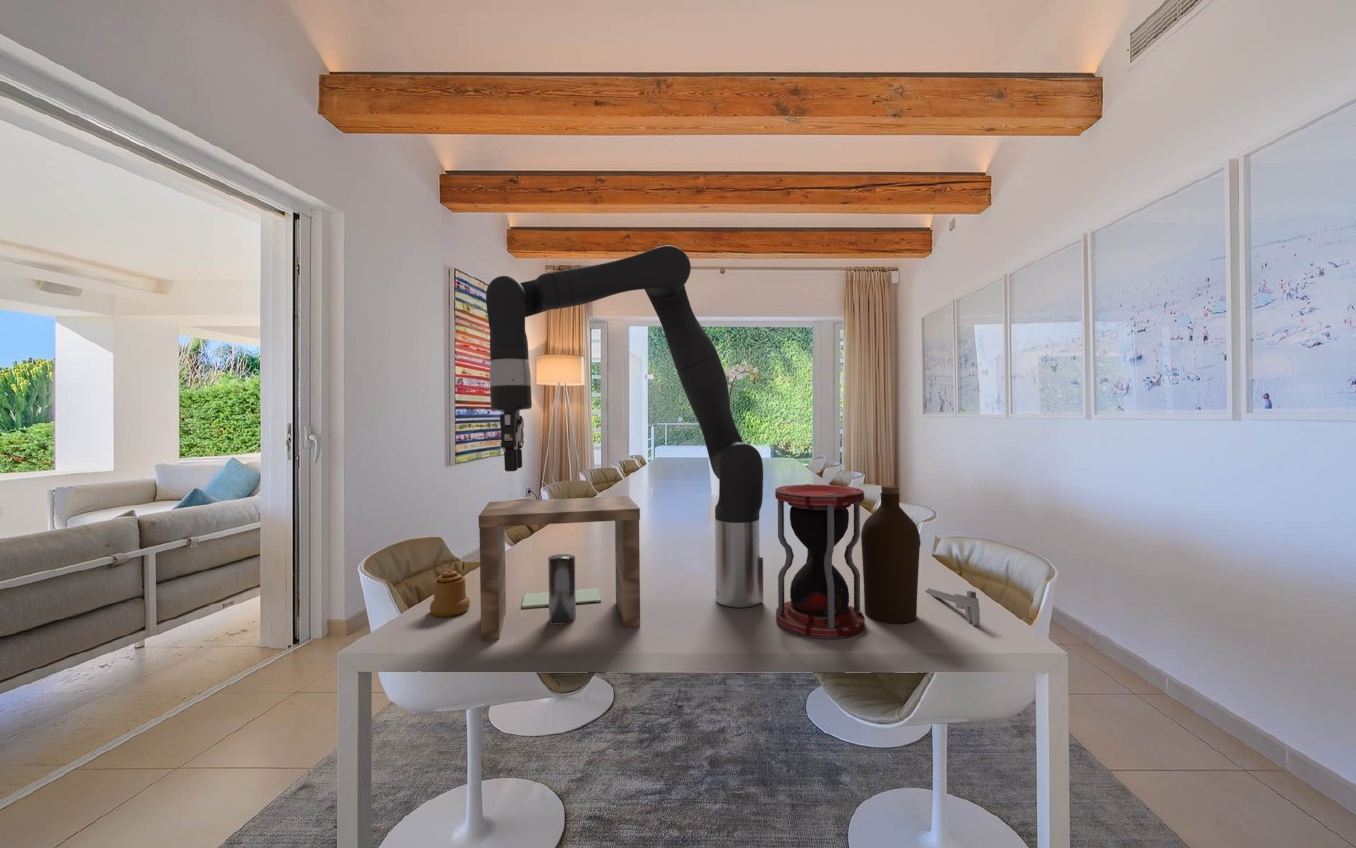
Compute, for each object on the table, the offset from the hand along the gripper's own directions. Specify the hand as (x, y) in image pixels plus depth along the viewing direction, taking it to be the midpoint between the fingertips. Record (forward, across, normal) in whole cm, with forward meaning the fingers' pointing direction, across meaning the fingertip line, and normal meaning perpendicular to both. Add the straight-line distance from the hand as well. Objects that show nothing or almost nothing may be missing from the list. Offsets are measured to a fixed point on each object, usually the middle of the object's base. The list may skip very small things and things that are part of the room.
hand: (514, 469), depth 106 cm
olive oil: (+31, -11, -70) cm, 78 cm away
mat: (+29, +11, -7) cm, 32 cm away
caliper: (+32, -9, -84) cm, 91 cm away
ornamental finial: (+29, +8, +14) cm, 33 cm away
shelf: (+29, -1, -8) cm, 30 cm away
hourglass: (+31, -12, -55) cm, 65 cm away
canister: (+29, -1, -8) cm, 30 cm away
